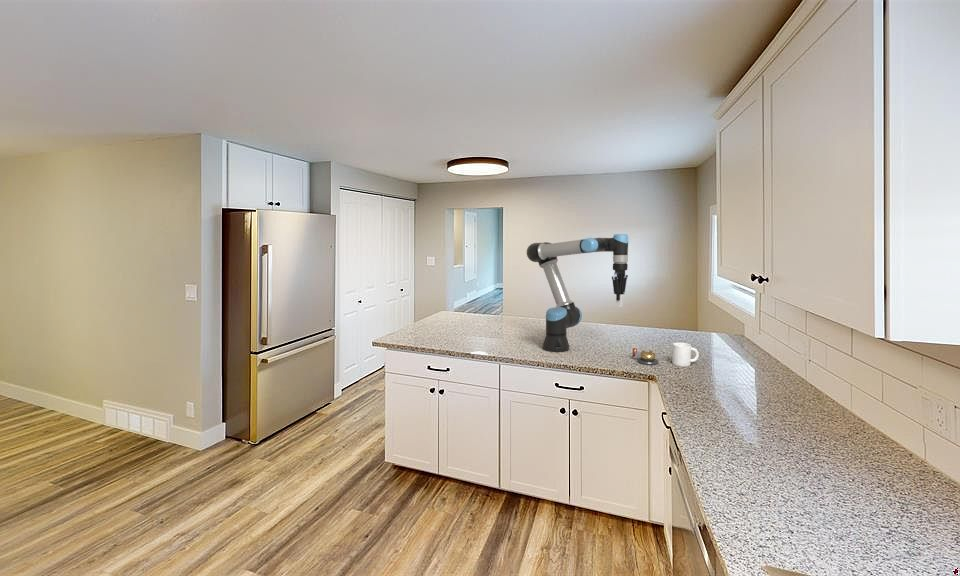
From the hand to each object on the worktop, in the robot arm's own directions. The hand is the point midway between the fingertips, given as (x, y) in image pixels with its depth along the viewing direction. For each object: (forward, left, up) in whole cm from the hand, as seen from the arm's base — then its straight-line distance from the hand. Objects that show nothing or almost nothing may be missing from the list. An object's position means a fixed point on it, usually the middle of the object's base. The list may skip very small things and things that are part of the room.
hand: (619, 306), depth 227 cm
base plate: (+19, -4, -26) cm, 33 cm away
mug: (+34, +5, -27) cm, 43 cm away
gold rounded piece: (+16, -4, -25) cm, 30 cm away
